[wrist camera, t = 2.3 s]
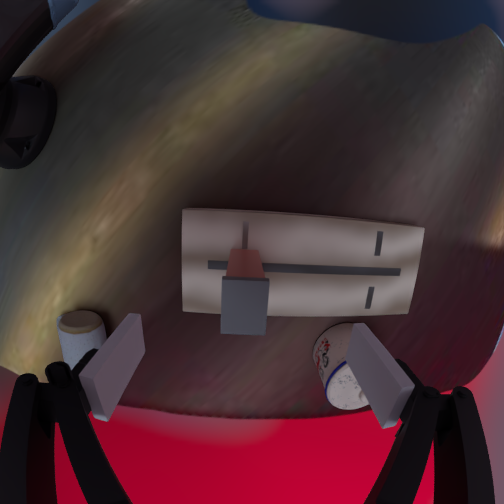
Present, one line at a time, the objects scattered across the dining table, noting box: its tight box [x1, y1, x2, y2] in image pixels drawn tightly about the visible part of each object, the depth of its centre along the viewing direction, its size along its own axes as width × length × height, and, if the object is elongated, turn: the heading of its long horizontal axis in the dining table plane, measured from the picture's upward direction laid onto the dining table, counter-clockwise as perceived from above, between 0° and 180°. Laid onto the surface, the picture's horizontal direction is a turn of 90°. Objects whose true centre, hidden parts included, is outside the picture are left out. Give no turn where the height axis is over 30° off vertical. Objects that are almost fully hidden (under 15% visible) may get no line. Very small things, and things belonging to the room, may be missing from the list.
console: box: [182, 208, 425, 316], centre depth 33 cm, size 12×30×3 cm, turn 87°
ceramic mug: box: [57, 310, 107, 370], centre depth 32 cm, size 11×8×8 cm
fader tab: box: [221, 249, 270, 335], centre depth 25 cm, size 4×3×11 cm
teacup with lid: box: [313, 323, 369, 409], centre depth 32 cm, size 12×9×12 cm
